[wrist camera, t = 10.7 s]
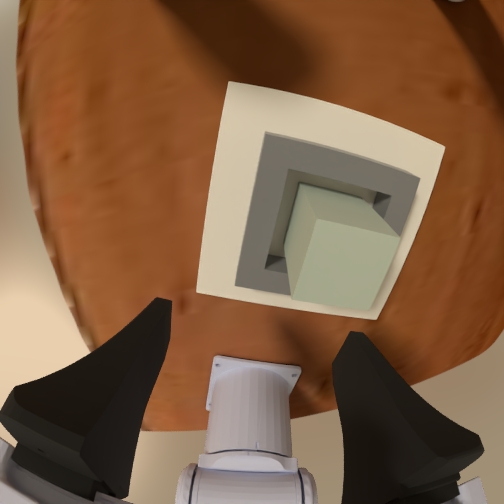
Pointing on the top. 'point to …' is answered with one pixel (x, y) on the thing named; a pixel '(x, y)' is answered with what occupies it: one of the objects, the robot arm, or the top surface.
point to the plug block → (336, 248)
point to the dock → (307, 171)
